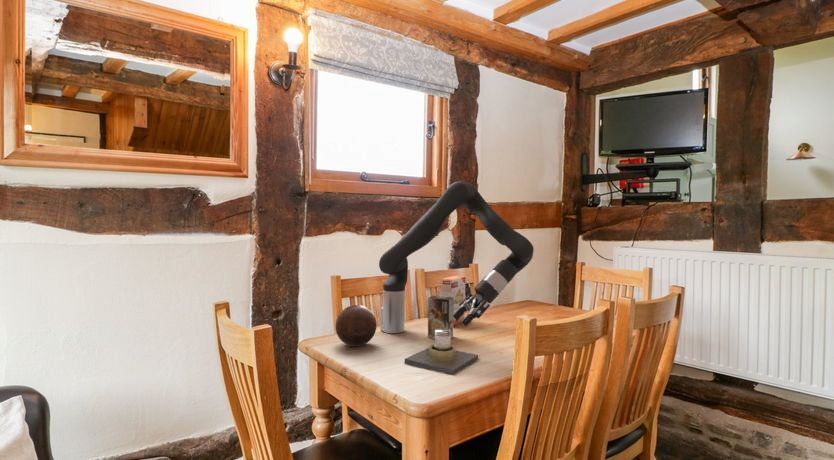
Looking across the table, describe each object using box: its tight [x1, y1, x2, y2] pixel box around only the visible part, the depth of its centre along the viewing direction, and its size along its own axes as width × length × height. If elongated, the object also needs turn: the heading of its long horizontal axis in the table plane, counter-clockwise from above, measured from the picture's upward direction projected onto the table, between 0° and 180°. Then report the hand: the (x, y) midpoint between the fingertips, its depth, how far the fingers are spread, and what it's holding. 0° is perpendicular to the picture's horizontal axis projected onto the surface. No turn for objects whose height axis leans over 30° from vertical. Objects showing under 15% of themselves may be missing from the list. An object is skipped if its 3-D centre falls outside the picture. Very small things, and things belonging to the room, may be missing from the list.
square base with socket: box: [404, 344, 479, 376], centre depth 148 cm, size 18×18×4 cm
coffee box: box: [427, 295, 454, 340], centre depth 177 cm, size 9×6×16 cm
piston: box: [434, 328, 452, 351], centre depth 148 cm, size 5×5×9 cm
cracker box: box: [440, 275, 467, 327], centre depth 200 cm, size 14×6×21 cm, turn 148°
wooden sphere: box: [335, 304, 377, 347], centre depth 164 cm, size 15×15×15 cm
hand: (459, 321), depth 149 cm, fingers open, 8 cm apart
